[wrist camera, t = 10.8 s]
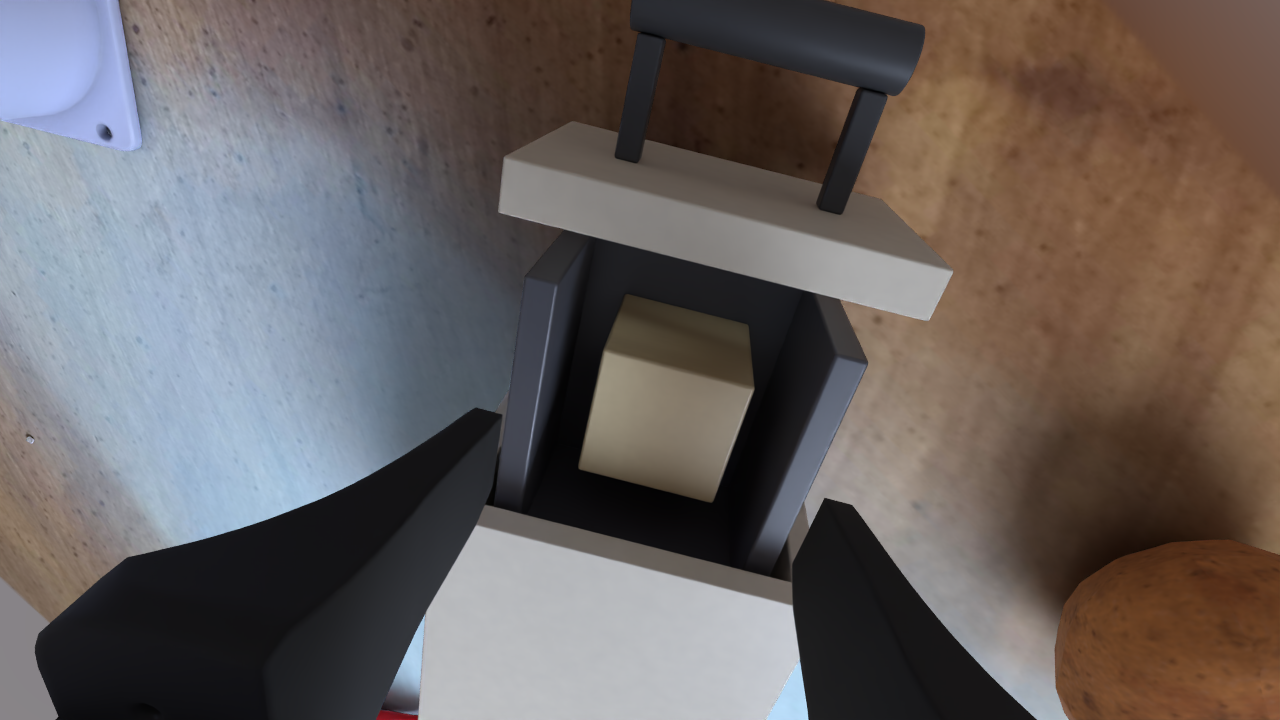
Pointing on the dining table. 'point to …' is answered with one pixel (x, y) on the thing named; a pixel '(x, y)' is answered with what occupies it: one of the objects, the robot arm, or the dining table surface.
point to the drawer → (709, 278)
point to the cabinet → (602, 628)
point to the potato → (1174, 636)
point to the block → (668, 398)
